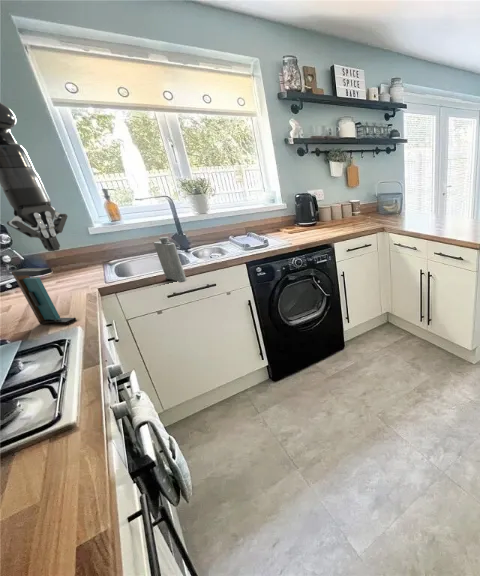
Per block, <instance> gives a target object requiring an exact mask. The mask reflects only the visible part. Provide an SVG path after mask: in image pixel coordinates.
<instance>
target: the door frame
mask: <svg viewBox="0 0 480 576" xmlns="http://www.w3.org/2000/svg"><path fill="white" fill-rule="evenodd" d="M10 272H11V274H12V276H13V278H14V279H15V282H16V283H17V285H18V287H19V289H20V290H21V292H22V294H23V296H24V298H25V300H26V301H27V303H28V305H29V307H30V309H31V310H32V312H33V314H34V316H35V317H36V319H37V322H38V323H39V325H45V326H47V325H49V326H51V325H52V326H53V325H54V326H68V325H71V324H73V323H76V322H77V318H76V317H60V319H57V320H48V319H44V318H43V316H42V314H41V312H40V310H39V309H38V307H37V306H36V305H35V303H34V302H33V300H32V298H31V296H30V294H29V290H28V288H27V286H26V285H25V283H24V281H23V279H25V278H31V277H33V276H44V275H45V276H46V275H47V274H52V273H53V270H52V268H51V267H34V268H33V267H32V268H31V267H30V268H20V269H16V270H15V269H14V270H11V271H10ZM30 276H31V277H30Z"/></svg>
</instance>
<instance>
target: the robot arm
mask: <svg viewBox="0 0 480 576" xmlns="http://www.w3.org/2000/svg"><path fill="white" fill-rule="evenodd" d="M16 124H17V118H16V115H15V113H14V112H13V110H11V108H9V107H8V106H7V105H5V104H4V103H2V102H0V188H1V189H2V191H3V194H4V195H5V197H6V199H7V201H8V204H9V205H10V206H11V207H12V209H13V216H14V217H13V218H12V219H11V220H7V221H6V224H7V226H9V227H11V228H12V229H15V230H16V231H18V232H19V233H21V234H23V235H25V236H26V237H28V238H35V239H39V240H40V241H41V244H42V245H43V248H44V249H45V250H47V251H48V252H55V251H59V250H60V248H61V245H60V243H59V240H58V238H57V235H59V234H61V233H63V231H64V228H65V226H66V222H67V219H68V214H66V213H61V212H59V211H56V209H55V207H54V206H52V203H51V202H52V201H51V198H50V197H49V195H48V193H47V190H46V188H45V186H44V183H43V182H42V180H41V177H40V176H39V173H38V172H37V171H36V169H35V167H34V165H33V163H32V161H31V158H30V156H29V155H28V154H29V153H28V152H27V150H26V149H25V148H24V147H23V145H21V144H19V143H18V142H17V141H16V139H15V137H14V136H13V134H12V132H11V129H13V128H14V127H15V125H16Z"/></svg>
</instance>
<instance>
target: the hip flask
mask: <svg viewBox="0 0 480 576" xmlns="http://www.w3.org/2000/svg"><path fill="white" fill-rule="evenodd" d="M169 239H170V238H169V236H162V237H158V240H159V241H155V242H153V246H154V249H155V252H156V255H157V257H158V260H159V263H160V266H161V268H162V272H163V274H164V276H165V279H166V280H172V281H176V282H178V283H185V282H187V281H188V280H187V277H186V273H185V270H184V268H183V265H182V262H181V258H180V255H179V252H178V249H177V247H176V244H175V243H174V242H172V241H170V240H169Z"/></svg>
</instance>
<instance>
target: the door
mask: <svg viewBox="0 0 480 576" xmlns="http://www.w3.org/2000/svg"><path fill="white" fill-rule="evenodd" d="M23 281H24V283H25V285H26V286H27V288H28V290H29V294H30V296H31V298H32V300H33V302H34V303H35V305H36V306H37V307H38V309H39V310H40V312H41V314H42V316H43V318H44V319H48V320H57V319H60V318H61V316H60V314H59V312H58V310H57V308H56V306H55V305H54V303H53V301H52V299H51V297H50V294H49V293H48V291H47V289H46V287H45V285H44V283H43V281H42V279H41V278H40V277H30V278H25V279H23Z"/></svg>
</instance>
